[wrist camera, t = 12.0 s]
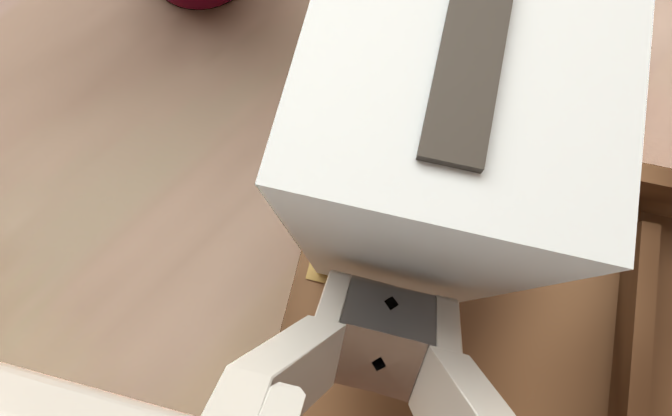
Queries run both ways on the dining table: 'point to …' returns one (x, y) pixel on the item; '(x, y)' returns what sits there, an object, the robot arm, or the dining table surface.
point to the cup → (198, 3)
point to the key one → (463, 141)
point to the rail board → (556, 333)
